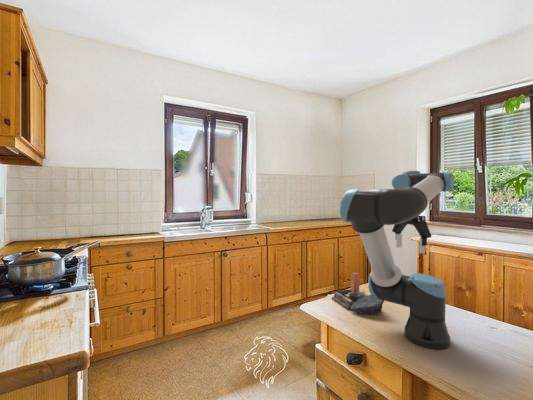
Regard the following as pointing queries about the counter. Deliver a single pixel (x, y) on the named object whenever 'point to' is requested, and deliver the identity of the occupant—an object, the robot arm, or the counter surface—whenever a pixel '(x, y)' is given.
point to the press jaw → (355, 288)
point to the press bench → (343, 298)
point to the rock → (367, 305)
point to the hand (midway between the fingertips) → (410, 250)
